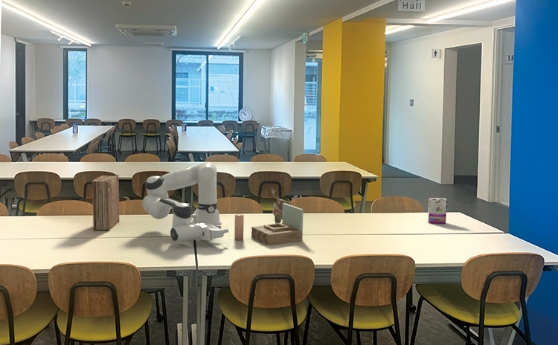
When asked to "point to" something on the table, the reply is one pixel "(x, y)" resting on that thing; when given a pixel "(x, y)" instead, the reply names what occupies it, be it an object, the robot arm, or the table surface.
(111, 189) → the book
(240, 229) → the light brown tall block
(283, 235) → the display plinth
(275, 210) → the brown figurine
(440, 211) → the candy bar box
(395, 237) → the table surface
